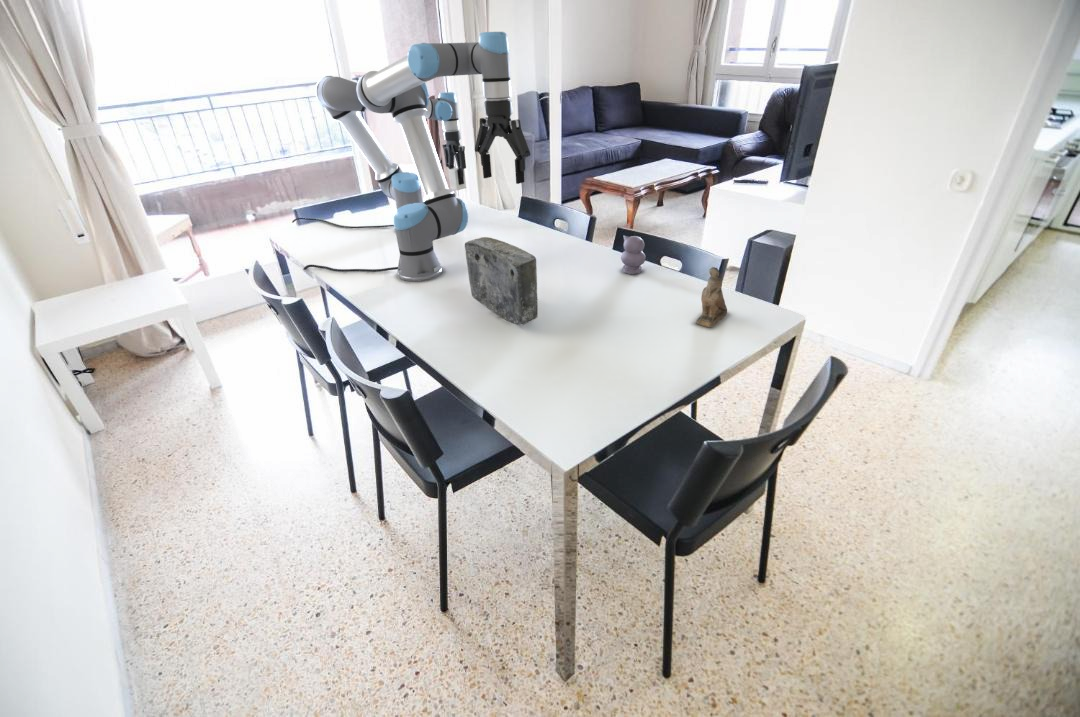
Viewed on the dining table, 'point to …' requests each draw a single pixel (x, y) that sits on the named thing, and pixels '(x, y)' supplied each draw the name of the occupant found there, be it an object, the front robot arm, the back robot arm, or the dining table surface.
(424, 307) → the dining table surface
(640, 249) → the cat figurine
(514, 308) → the concrete block
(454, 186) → the white rectangular block
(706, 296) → the brown carved statuette
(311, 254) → the dining table surface
